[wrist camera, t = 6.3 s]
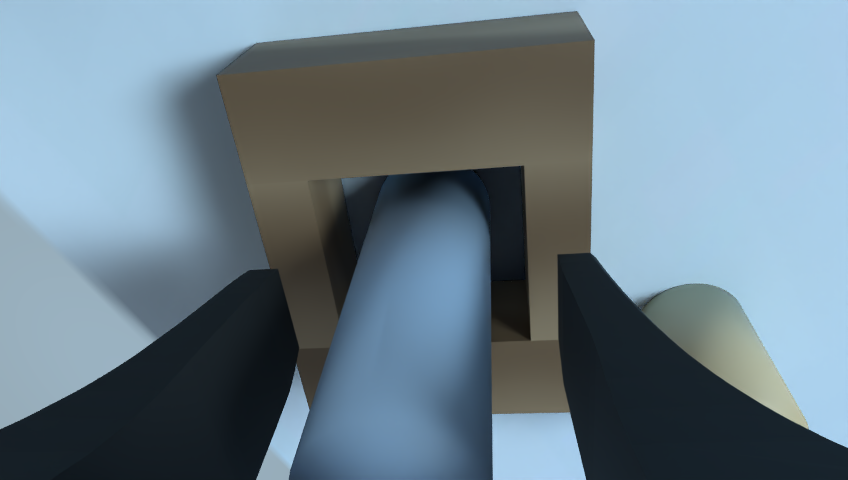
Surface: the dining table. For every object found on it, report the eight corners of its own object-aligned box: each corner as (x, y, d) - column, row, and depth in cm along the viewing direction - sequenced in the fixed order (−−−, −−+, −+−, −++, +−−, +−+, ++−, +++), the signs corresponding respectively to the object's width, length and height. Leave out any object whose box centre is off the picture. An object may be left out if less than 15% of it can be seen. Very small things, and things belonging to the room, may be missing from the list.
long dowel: (492, 252, 17) (497, 560, 9) (386, 257, 17) (310, 557, 10) (486, 152, 15) (486, 421, 8) (370, 159, 16) (267, 424, 8)
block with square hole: (575, 345, 18) (587, 411, 16) (331, 353, 19) (311, 417, 17) (577, 11, 13) (594, 40, 11) (256, 43, 14) (216, 75, 12)
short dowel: (736, 364, 18) (796, 484, 14) (632, 367, 18) (666, 485, 15) (750, 281, 16) (820, 392, 13) (637, 286, 17) (676, 395, 13)
